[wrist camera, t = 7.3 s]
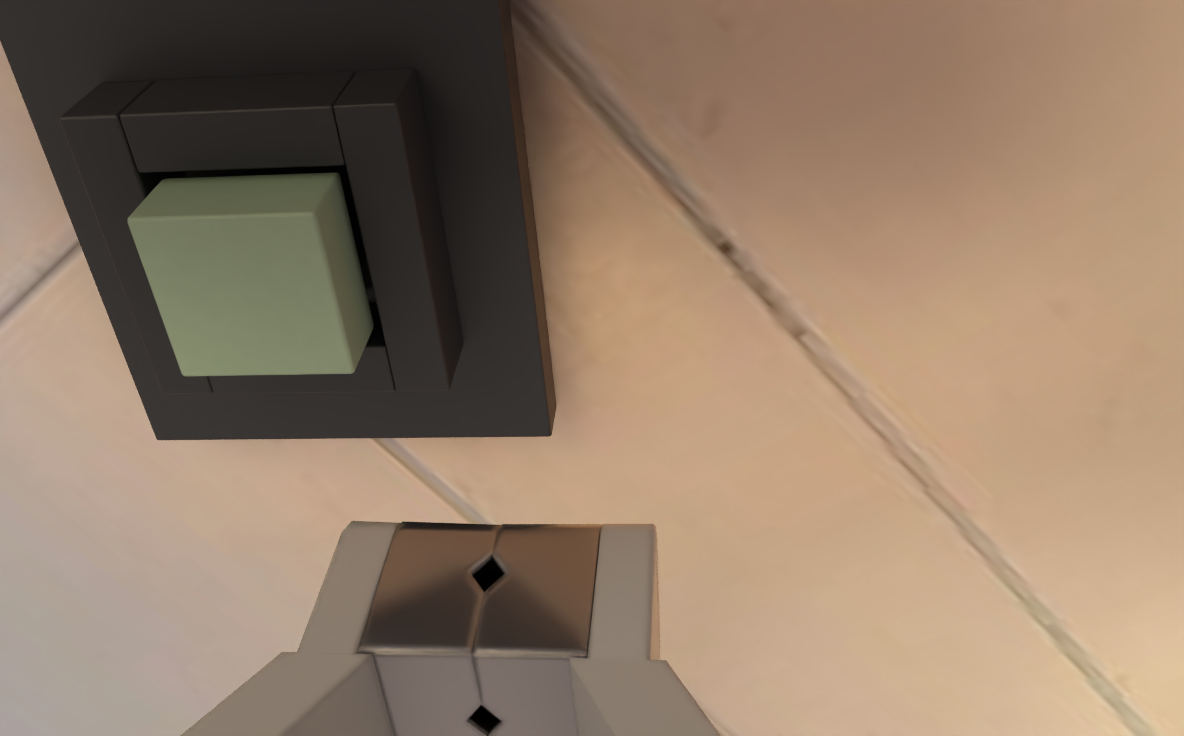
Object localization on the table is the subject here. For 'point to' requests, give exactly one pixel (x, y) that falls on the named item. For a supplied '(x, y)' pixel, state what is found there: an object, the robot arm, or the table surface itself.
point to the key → (255, 274)
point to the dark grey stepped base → (300, 146)
